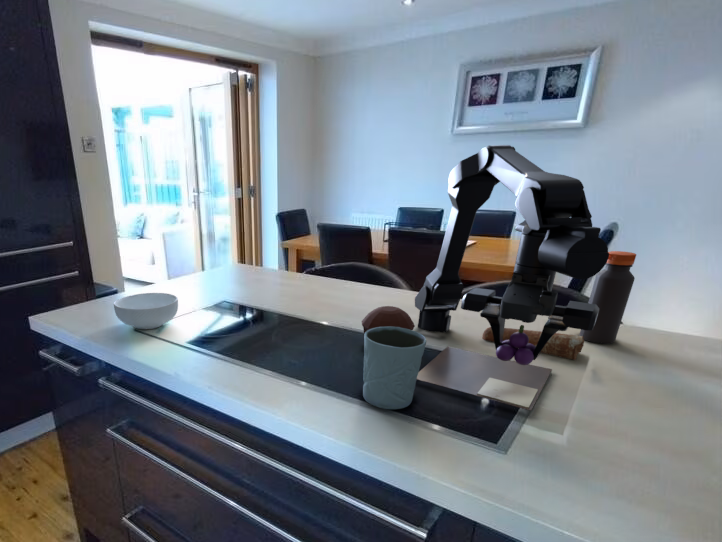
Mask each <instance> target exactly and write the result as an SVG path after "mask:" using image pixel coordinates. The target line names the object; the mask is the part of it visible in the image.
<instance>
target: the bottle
mask: <svg viewBox="0 0 722 542" xmlns="http://www.w3.org/2000/svg"><path fill="white" fill-rule="evenodd" d="M608 253H609V257H608V260H607V262H606V264H605V266H604V268H603V269H602V270H601V271H600V272H599V273H597V274H596V275H595V276H594V277H595V278H594V281H593V285H592V289H591V292H590V296H589V298H588V302H587V303H590V304H596V305H597V306H598V307H599V312H598V316H597V319H596V322H595V325H594V327H593V330H588V331H587V330H581V329H580V331H579V336H583V337H584V341H586V342H589V343H595V344H602V345H603V344H604V345H609V344H612V343H614V342H615V341H616V339H617V336H618V333H619V330H620V326H621V323H622V321H623V317H624V314H625V311H626V307H627V304H628V301H629V298H630V295H631V292H632V289H633V285H634V282H635V276H634V274H633V273H632V272H631V268H632V267H633V266H634V264H635V261H636V258H637V254H636V252H630V251H621V250H612V251H608Z"/></svg>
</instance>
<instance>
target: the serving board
mask: <svg viewBox="0 0 722 542" xmlns="http://www.w3.org/2000/svg"><path fill="white" fill-rule="evenodd" d="M552 371H553V369H552V368H547V367H544V366H543V367H542V366H538V365H534V364H531V363H530V364H528V365H520V364H518V363H517V362H516V361H515V360H512V359H511V360H509V361H502V360H500V359H499V358H498V357H497V356H493V355H489V354H484V353H480V352H475V351H470V350H465V349H461V348H456V347H452V346H446V347H445V348H444V349H443V350H442V351H441V352H440V353H439V354H437V355H436V356H435V357H433V359H432V360H430V362H429V363H427V364H426V365H425V366H424V367H423V368H421V370H419V372H418V375H417V381H421V382H424V383H428V384H432V385H434V386H435V385H436V386H439V387H443V388H446V389H450V390H454V391H457V392H461V393H465V394H469V395H472V396H476V397H479V398H483V399H486V400H490V401H494V402H498V403H501V404H505V405H508V406H513V407H516V408H520V409H524V410H527V411H532V410H533V408H534V406H535V404H536V402H537V400H538V398H539V397H540V394H541V393H542V390H543V388H544V386H545V385H546V383H547V381H548V379H549V377H550V375H551V373H552Z"/></svg>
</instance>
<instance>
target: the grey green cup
mask: <svg viewBox="0 0 722 542" xmlns="http://www.w3.org/2000/svg"><path fill="white" fill-rule="evenodd" d="M363 339H364V340H363V342H364V344H363V354H364V356H363V369H362V370H363V374H362V375H363V378H362V379H363V385H362V396H363V399H364V400H365V402H367V404H369V405H371V406H374V407H376V408H379V409H384V410H401V409H405V408H407V407H409V406H410V405H411V403H412V401H413V398H414V393H415V389H416V384H417V381H418V380H417V375H418V372H420V368H421V363H422V362H423V361H422V357H423V356H424V352H425V349H426V345H427V338H426V336H424V335H423V334H422V333H420V332H418V331H415V330H414V329H413V330H409V329H405V328H400V327H376V328H372V329H369V330H367V331H366V332H365V334H364V333H363Z"/></svg>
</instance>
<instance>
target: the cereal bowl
mask: <svg viewBox="0 0 722 542" xmlns="http://www.w3.org/2000/svg"><path fill="white" fill-rule="evenodd" d="M113 309H114V313H115V316H116V317H117V319H118V320H119V321H120V322H121V323H123V324H124V325H127V326H131V327H133V328H135V329H137V330H153V329H158V328H160V327H162V326H163V325H164V324H166V323H168V322H170V321H172V320H173V318H175V316H176V315H177V313H178V310H179V299H178V297H177V295H175V294H172V293H165V292H145V293H137V294H131V295H127V296H123V297H120V298H118V299H116V300H115V301H114V302H113Z"/></svg>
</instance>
